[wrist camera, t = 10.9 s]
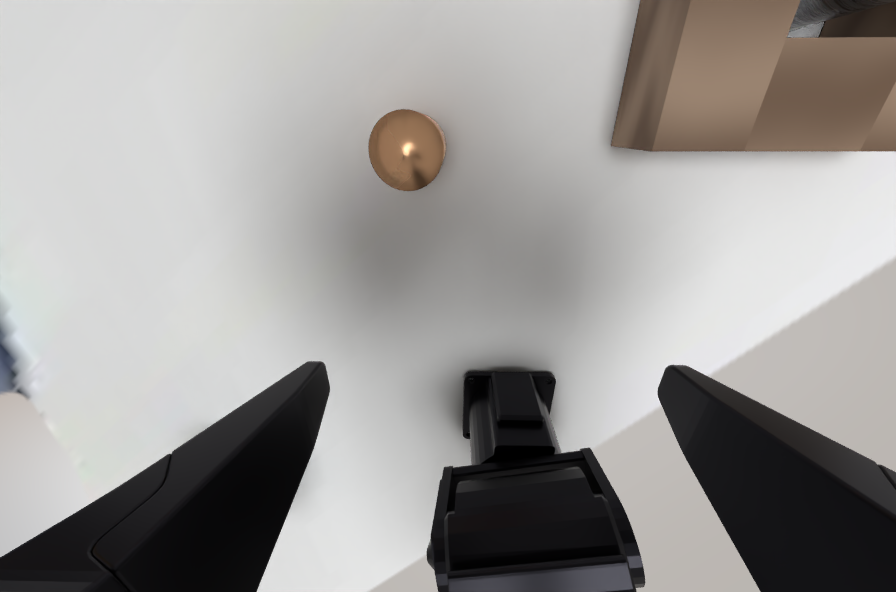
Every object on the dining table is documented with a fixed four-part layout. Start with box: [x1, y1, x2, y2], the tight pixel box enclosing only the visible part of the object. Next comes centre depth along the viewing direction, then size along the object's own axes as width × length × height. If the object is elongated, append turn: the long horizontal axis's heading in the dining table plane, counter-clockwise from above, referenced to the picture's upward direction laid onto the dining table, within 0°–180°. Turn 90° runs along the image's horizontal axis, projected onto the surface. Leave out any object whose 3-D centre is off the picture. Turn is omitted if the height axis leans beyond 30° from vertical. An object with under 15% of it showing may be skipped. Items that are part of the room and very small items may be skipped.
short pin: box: [369, 109, 446, 191], centre depth 15 cm, size 3×3×4 cm
